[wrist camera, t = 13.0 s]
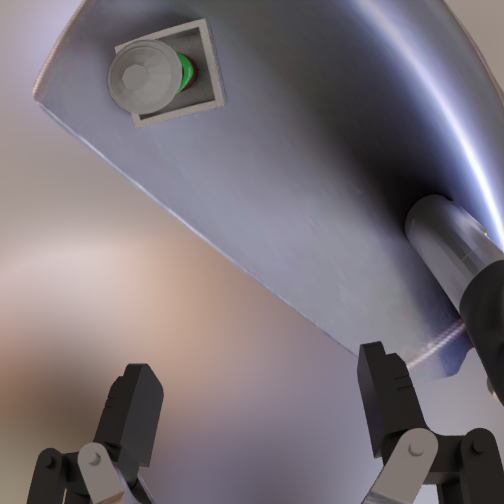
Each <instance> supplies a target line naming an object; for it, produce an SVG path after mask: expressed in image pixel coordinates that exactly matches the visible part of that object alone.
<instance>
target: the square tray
mask: <svg viewBox="0 0 504 504" xmlns="http://www.w3.org/2000/svg"><path fill="white" fill-rule="evenodd" d="M146 39H153V40H157V41H161V42H164V43H166V44H167V45H168V46H170V47H171V48H172V49H173V50H174V51H175V52H178V53H180V54H184V55H186V56H188V57H189V58H190V59H191V60H192V61H193V62H194V63H195V66H196V72H197V74H196V79H195V81H194V83H193V84H192V85H191V86H190V87H189V88H188V89H186V90H185V91H182V92H179V93H177V94H176V95H175V96H174V98H173V99H172V101H171V102H169V103H168V104H167V105H166V106H165V107H163V108H162V109H160V110H158V111H155V112H152V113H148V114H136V113H131V114H132V117H133V121H134V124H135V128H136V129H138V128H141V127H144V126H148V125H151V124H154V123H158V122H161V121H165V120H169V119H172V118H176V117H180V116H184V115H187V114H191V113H196V112H200V111H204V110H208V109H213V108H217V107H222V106H225V105H226V103H227V98H226V93H225V89H224V84H223V80H222V75H221V71H220V66H219V62H218V57H217V53H216V49H215V44H214V40H213V35H212V31H211V26H210V24H209V22H208V21H207V20H206V19H205V18H204V19H200V20H196V21H192V22H188V23H185V24H181V25H178V26H174V27H171V28H167V29H164V30H161V31H158V32H155V33H152V34H149V35H146V36H143V37H140V38H137V39H134V40H132V41H129V42H126V43H124V44H121V45H119V46H116V47H115V52H116V54H117V53H118V52H119V51H120V50H121V49H123V48H124V47H125V46H127V45H129V44H131V43H133V42H135V41H138V40H146Z"/></svg>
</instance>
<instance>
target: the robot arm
mask: <svg viewBox="0 0 504 504" xmlns="http://www.w3.org/2000/svg"><path fill="white" fill-rule="evenodd" d="M405 233H406V237H407V238H408V240H409V241H410V243H411V244H412V245H413V247H414V248H415V249H416V251H417V252H418V254H419V255H420V256H421V258H422V259H423V260H424V262H425V263H426V265H427V266H428V267H429V269H430V270H431V272H432V273H433V274H434V276H435V277H436V279H437V280H438V282H439V283H440V285H441V286H442V288H443V289H444V291H445V292H446V294H447V295H448V297H449V298H450V300H451V301H452V303H453V304H454V306H455V307H456V309H457V310H458V312H459V314H460V315H461V317H462V319H463V320H464V322H465V327H466V330H467V333H468V335H469V337H470V339H471V341H472V343H473V345H474V347H475V349H476V351H477V353H478V355H479V357H480V359H481V361H482V364H483V366H484V368H485V371H486V373H487V376H488V378H489V380H490V382H491V384H492V387H493V389H494V391H495V393H496V395H497V397H498V398H499V400H500V402H501V403H502V405H503V406H504V253H503V252H502V251H501V250H500V249H499V248H498V247H497V246H496V245H495V244H494V243H493V242H492V241H491V240H490V239H489V238H488V237H487V231H486V229H485V228H484V227H483V226H482V225H481V224H479V223H478V222H477V221H476V220H475V219H474V218H473V217H472V216H471V215H470V214H469V213H467V212H466V211H465V210H464V209H463V208H462V207H461V206H459V205H458V204H457V203H456V202H455V201H449V200H447V199H446V198H445V197H443V196H441V195H436V194H434V195H428V196H425V197H423V198H422V199H420V200H419V201H418V202H416V203H415V204H414V205H413V207H412V208H411V209H410V211H409V213H408V215H407V218H406V221H405ZM357 375H358V383H359V387H360V391H361V396H362V400H363V405H364V410H365V415H366V419H367V424H368V429H369V434H370V439H371V445H372V450H373V455H374V458H379V457H382V460H383V465H384V467H383V468H382V470H381V472H380V474H379V475H378V477H377V479H376V480H375V482H374V484H373V485H372V487H371V488H370V490H369V492H368V493H367V495H366V496H365V498H364V500H363V501H362V503H361V504H412V503H413V501H414V500H415V498H416V496H417V494H418V492H419V490H420V488H421V486H422V484H426V485H428V484H436V486H437V492H438V500H439V504H504V471H503V467H502V463H501V458H500V454H499V450H498V447H497V443H496V440H495V437H494V435H493V434H492V433H491V432H490V431H489V430H487V429H484V428H476V429H473V430H471V431H470V432H468V433H467V434H466V435H465V436H464V435H463V436H443V435H439V434H436V433H434V432H433V431H431V430H430V429H429V428H428V426H427V425H426V423H425V421H424V417H423V414H422V411H421V408H420V405H419V401H418V398H417V395H416V393H415V389H414V387H413V384H412V381H411V378H410V377H409V372H408V369H407V367H406V364H405V362H404V361H403V360H402V359H401V358H400V357H399V356H398V355H397V353H392V354H387V355H386V353H385V350H384V347H383V345H382V343H381V341H377V342H372V343H367V344H361V345H360V350H359V359H358V367H357ZM163 397H164V393H163V387H162V385H161V383H160V382H159V380H158V379H157V377H156V376H155V374H154V373H153V371H152V370H151V368H150V366H149V365H148V364H128V365H127V367H126V369H125V372H124V375H123V376H119V377H118V378H117V379H116V381H115V382H114V383H113V385H112V386H111V388H110V391H109V394H108V399H107V400H106V403H105V408H104V409H103V412H102V415H101V418H100V422H99V425H98V428H97V431H96V434H95V438H94V440H93V442H92V443H89V444H87V445H85V446H84V447H83V448H82V449H81V450H80V452H73V453H66V454H62V453H60V452H59V451H57V450H56V449H54V448H47V449H45V450H43V451H42V452H41V453H40V455H39V456H38V459H37V463H36V466H35V470H34V474H33V478H32V482H31V486H30V490H29V495H28V499H27V504H62V502H63V496H64V491H65V488H66V489H67V492H66V497H65V503H64V504H156V503H155V501H154V499H153V497H152V496H151V494H150V492H149V491H148V489H147V487H146V485H145V483H144V482H143V480H142V478H141V476H140V474H139V473H138V470H139V466H142V467H149V464H150V459H151V454H152V449H153V445H154V439H155V434H156V430H157V424H158V420H159V416H160V411H161V406H162V402H163Z"/></svg>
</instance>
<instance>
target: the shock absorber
mask: <svg viewBox="0 0 504 504" xmlns="http://www.w3.org/2000/svg"><path fill="white" fill-rule="evenodd" d="M196 74H197V72H196V66H195V63H194V62H193V61H192V60H191V59H190V58H189V57H188V56H186V55H184V54H180V53H178V52H175V51H174V50H173V49H172V48H171V47H170V46H168V45H167V44H166V43H164V42H161V41H157V40H153V39H146V40H138V41H135V42H133V43H131V44H129V45H127V46H125V47H124V48H123V49H121V50H120V51H119V52H118V53H117V54H116V56H115V58H114V59H113V61H112V63H111V64H110V66H109V71H108V76H107V84H108V88H109V93H110V95H111V97H112V98H113V99H114V101H115V102H116V104H117V105H118V106H120V107H121V108H123V109H124V110H126V111H128V112H130V113H136V114H148V113H152V112H155V111H158V110H160V109H162V108H163V107H165V106H166V105H167V104H168V103H169V102H171V101H172V99H173V98H174V96H175V95H176V94H177V93H179V92H182V91H185V90H186V89H188V88H189V87H190V86H191V85H192V84H193V83H194V81H195V79H196Z"/></svg>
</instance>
